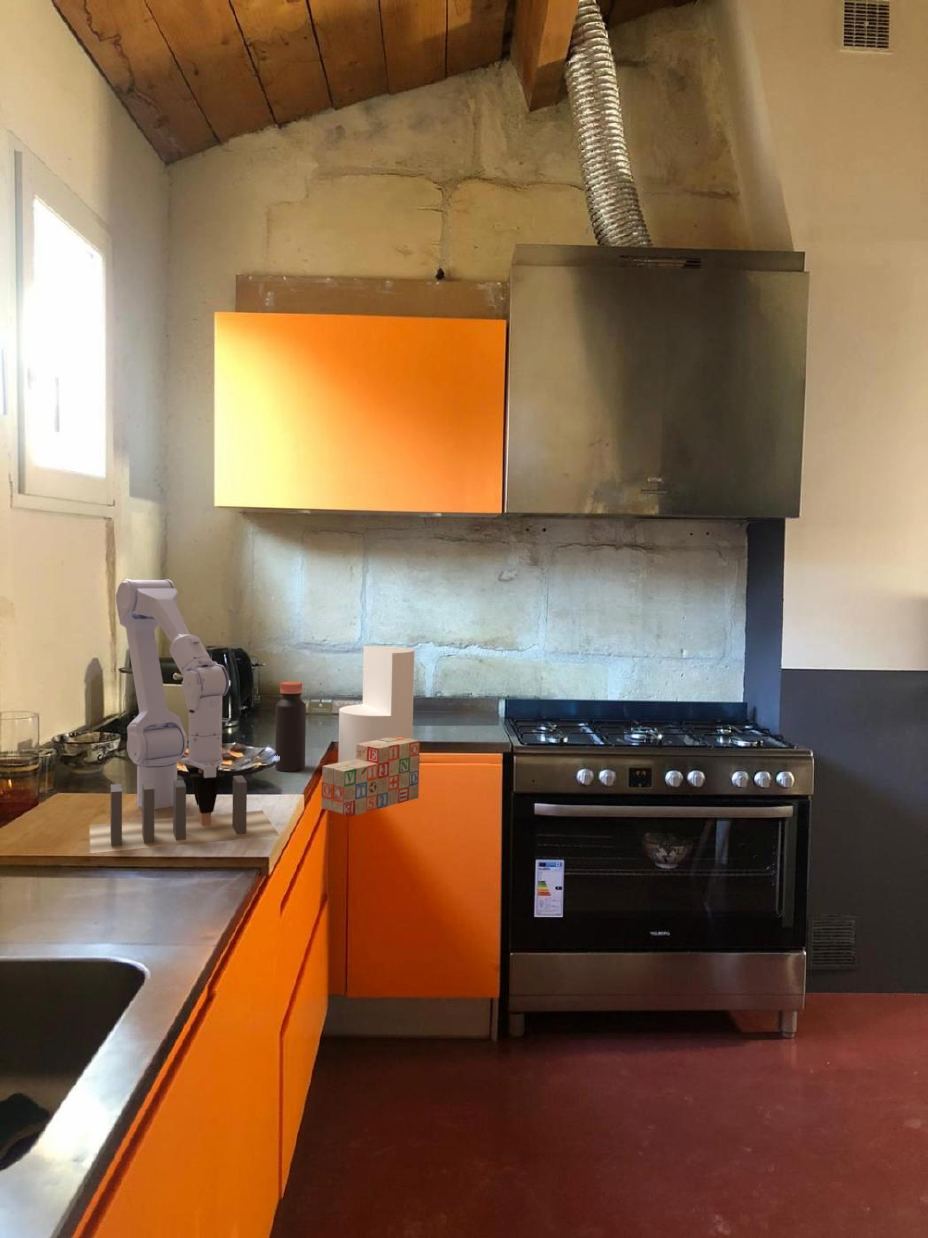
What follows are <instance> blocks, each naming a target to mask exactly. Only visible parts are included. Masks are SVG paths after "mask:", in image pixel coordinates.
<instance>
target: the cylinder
mask: <svg viewBox="0 0 928 1238" xmlns="http://www.w3.org/2000/svg"><path fill="white" fill-rule="evenodd" d="M362 656H363V657H362V658H363V659H362V660H363V661H362V663H363V665H362V666H363V667H362V668H363V669H362V670H363V672H362V703H361V704H351V705H346V706H342V707H340V708H339V710H338V755H337V756H338V758H337V759H338V760H337V763H339V762H344V761H350V760H354V759H356V748H357V744H359V743H365V742H370V741H374V740H378V739H383V738H393V737H403V738H408V739H409V738H410V739H413V734H414V733H413V731H414V730H413V729H414V727H413V726H414V693H415V692H414V688H415V687H414V686H415V682H414V681H415V649H413V648H411V647H410V648H408V647H401V646H400V647H399V646H385V645H384V646H383V645H363V655H362Z"/></svg>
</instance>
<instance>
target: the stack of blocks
mask: <svg viewBox="0 0 928 1238" xmlns="http://www.w3.org/2000/svg"><path fill="white" fill-rule="evenodd" d="M420 744H421V743H420V740H418V739H414V738H412V739H410V738H409V739H408V738H403V737H393V738H383V739H378V740H374V741H370V742H365V743H359V744H357V748H356V759H354V760H350V761H344V762H339V763H338V762H336V763H335V762H334V763H331V764H326V765H323V766H322V772H321V774H322V776H321V791H320V792H321V793H320V795H321V798H320V799H321V802H320V803H321V804H320V805H321V809H324V810H327V811H332V812H334V813H338V814H341V815H343V814H344V815H345V817H347V818H351V817H353V816H358V815H361V814H364V813H368V812H372V811H376V810H379V809H383V808H386V807H391V806H394V805H397V804H402V803H404V802H409V801H412V800H415V799H419V787H420V786H419V785H420V784H419V782H420V766H421V765H420V762H421V761H420V758H421V757H420V756H421V755H420V748H421V747H420Z"/></svg>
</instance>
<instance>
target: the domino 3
mask: <svg viewBox="0 0 928 1238" xmlns="http://www.w3.org/2000/svg"><path fill="white" fill-rule="evenodd" d="M172 808H173V809H172V818H173V833H174V836H175V839H176V840H186V817H187V786H186V783H185V781H184V779H177V780H173V806H172Z"/></svg>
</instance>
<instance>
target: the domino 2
mask: <svg viewBox="0 0 928 1238" xmlns="http://www.w3.org/2000/svg"><path fill="white" fill-rule="evenodd" d="M141 809H142V810H141V812H142V813H141V814H142V815H141V819H142V820H141V821H142V836H143V841H144V843H154V820H155V809H154V786H153V782H142V808H141Z"/></svg>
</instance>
